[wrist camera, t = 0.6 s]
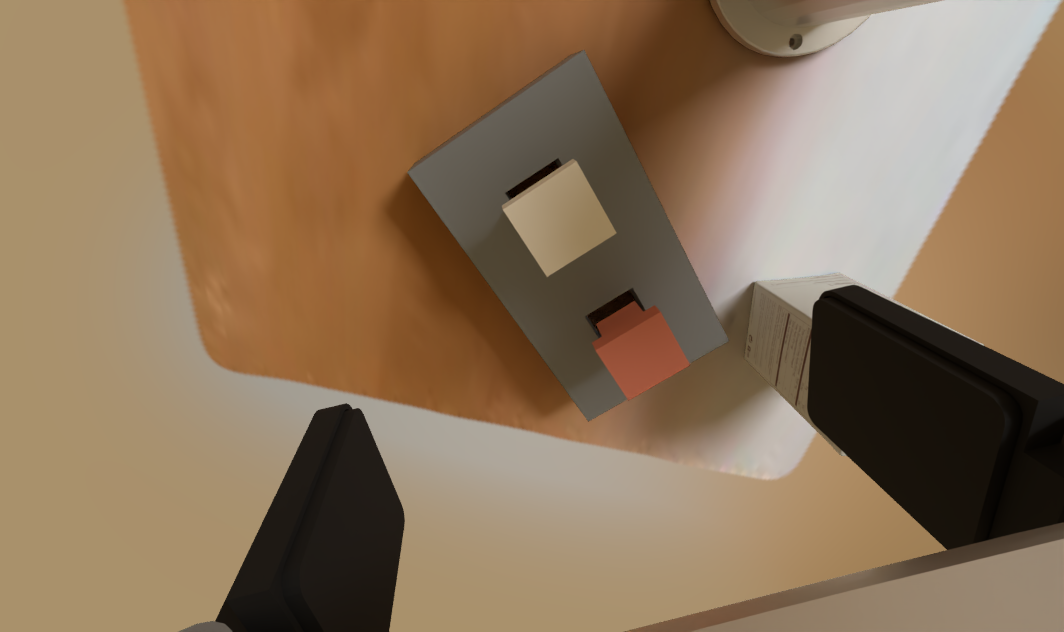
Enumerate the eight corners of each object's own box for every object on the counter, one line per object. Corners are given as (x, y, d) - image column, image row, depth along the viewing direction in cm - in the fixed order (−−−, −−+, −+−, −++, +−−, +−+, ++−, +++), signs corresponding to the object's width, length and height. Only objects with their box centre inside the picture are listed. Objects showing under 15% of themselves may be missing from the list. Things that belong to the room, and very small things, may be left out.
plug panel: (570, 55, 30) (584, 49, 27) (705, 318, 39) (729, 341, 36) (414, 163, 32) (407, 172, 28) (578, 392, 41) (588, 421, 37)
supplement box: (840, 269, 39) (993, 343, 28) (822, 351, 42) (952, 447, 31) (751, 277, 38) (870, 356, 27) (739, 359, 42) (841, 461, 30)
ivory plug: (562, 152, 28) (576, 161, 24) (599, 216, 30) (616, 233, 26) (498, 195, 29) (502, 209, 25) (537, 254, 30) (546, 277, 27)
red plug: (639, 287, 32) (660, 311, 28) (666, 336, 34) (690, 365, 30) (581, 321, 33) (595, 350, 29) (611, 368, 34) (628, 400, 31)
